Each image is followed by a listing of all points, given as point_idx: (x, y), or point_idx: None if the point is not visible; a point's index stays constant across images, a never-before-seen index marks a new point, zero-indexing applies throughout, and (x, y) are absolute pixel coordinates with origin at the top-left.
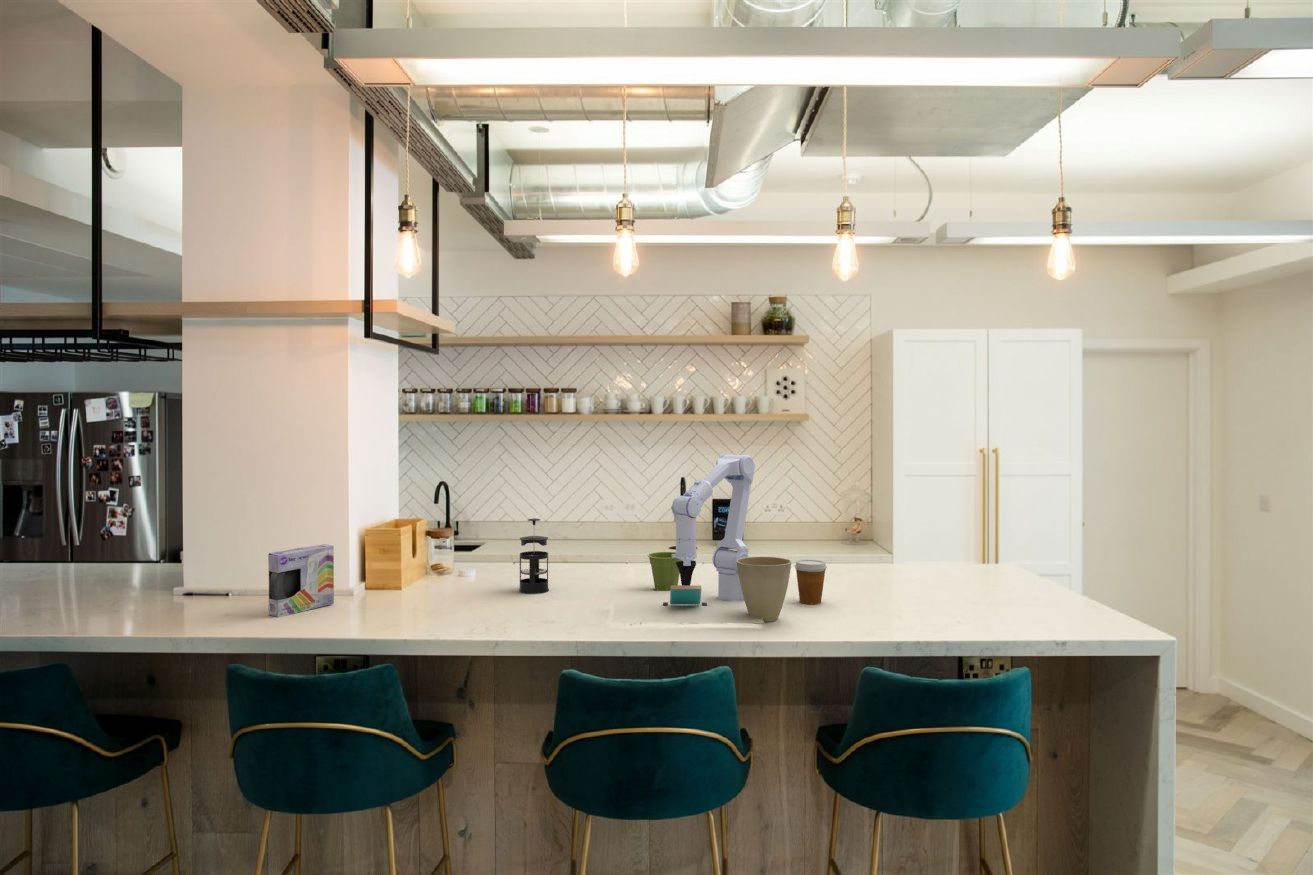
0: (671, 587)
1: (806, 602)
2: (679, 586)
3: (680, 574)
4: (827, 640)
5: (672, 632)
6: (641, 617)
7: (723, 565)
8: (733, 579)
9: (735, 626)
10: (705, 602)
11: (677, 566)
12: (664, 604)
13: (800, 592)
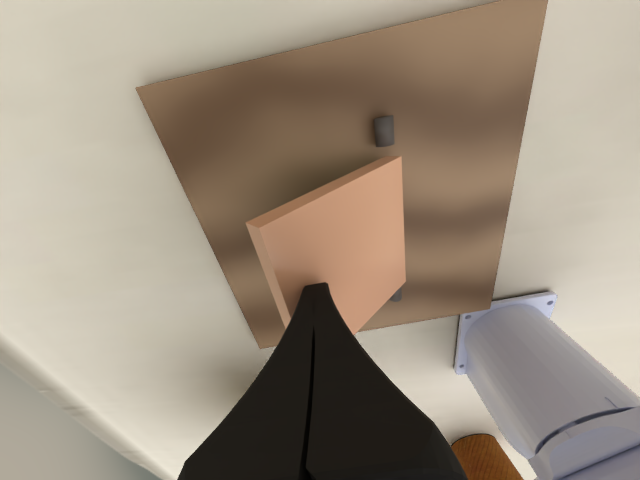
0: (251, 230)
1: (456, 445)
2: (273, 282)
3: (266, 363)
4: (171, 474)
5: (4, 232)
6: (169, 21)
7: (626, 478)
8: (518, 425)
9: (198, 368)
10: (397, 297)
11: (186, 463)
12: (374, 127)
13: (479, 465)
